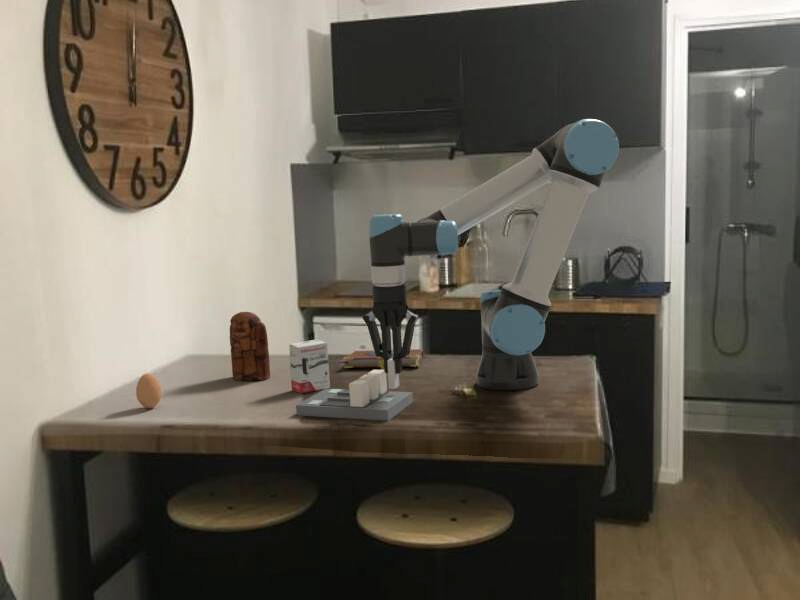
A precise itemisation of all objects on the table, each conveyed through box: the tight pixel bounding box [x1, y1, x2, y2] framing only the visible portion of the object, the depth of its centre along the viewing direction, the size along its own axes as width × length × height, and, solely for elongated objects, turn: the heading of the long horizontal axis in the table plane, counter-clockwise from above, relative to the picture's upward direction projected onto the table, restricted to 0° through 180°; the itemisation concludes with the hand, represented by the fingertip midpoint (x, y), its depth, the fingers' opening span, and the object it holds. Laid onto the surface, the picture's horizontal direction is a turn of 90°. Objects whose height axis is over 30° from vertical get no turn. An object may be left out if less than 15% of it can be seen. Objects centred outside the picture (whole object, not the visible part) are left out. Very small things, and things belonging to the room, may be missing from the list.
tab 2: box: [358, 374, 379, 399], centre depth 189 cm, size 3×4×5 cm
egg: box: [135, 373, 162, 409], centre depth 201 cm, size 6×6×8 cm
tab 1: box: [348, 379, 370, 407], centre depth 184 cm, size 3×4×5 cm
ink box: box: [288, 339, 331, 394], centre depth 211 cm, size 8×5×12 cm, turn 123°
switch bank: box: [295, 388, 414, 422], centre depth 191 cm, size 22×15×3 cm
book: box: [337, 348, 424, 370], centre depth 236 cm, size 16×25×5 cm, turn 82°
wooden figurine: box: [229, 311, 271, 382], centre depth 225 cm, size 12×6×18 cm, turn 73°
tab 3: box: [367, 369, 388, 394], centre depth 193 cm, size 3×4×5 cm
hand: (394, 387), depth 192 cm, fingers closed
